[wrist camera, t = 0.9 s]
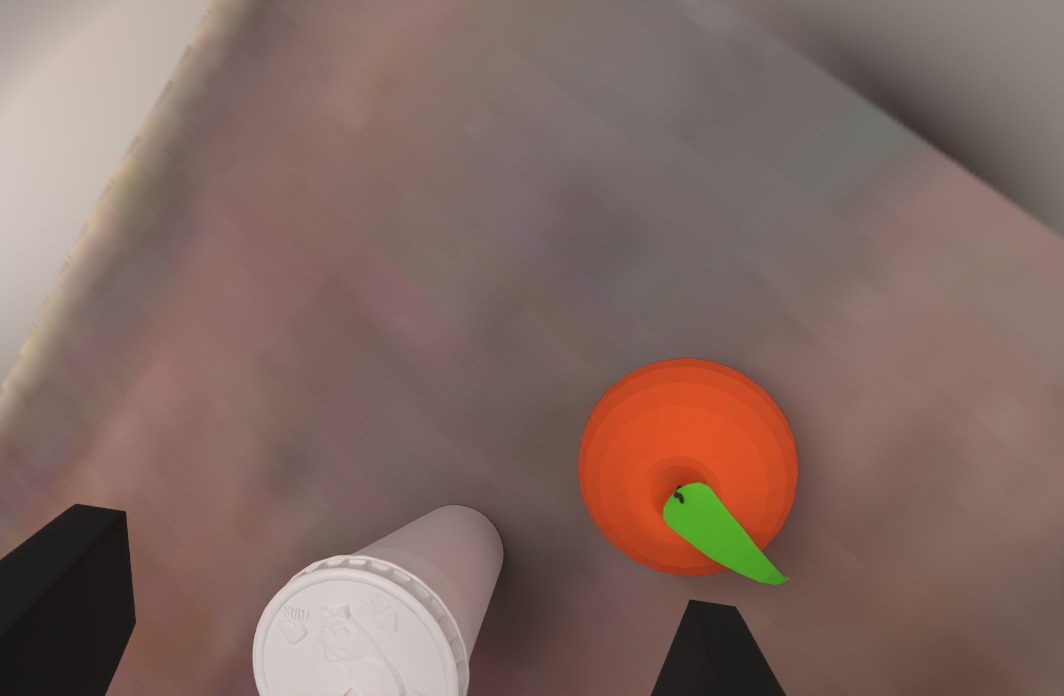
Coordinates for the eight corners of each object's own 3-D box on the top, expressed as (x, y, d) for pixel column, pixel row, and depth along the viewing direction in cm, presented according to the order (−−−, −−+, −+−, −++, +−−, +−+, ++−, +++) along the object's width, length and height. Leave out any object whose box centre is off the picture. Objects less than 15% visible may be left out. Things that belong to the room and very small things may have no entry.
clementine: (856, 464, 29) (895, 536, 22) (711, 590, 31) (707, 692, 24) (689, 304, 30) (678, 325, 23) (557, 436, 31) (509, 493, 24)
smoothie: (403, 636, 34) (187, 902, 20) (365, 484, 33) (118, 655, 20) (554, 617, 32) (428, 893, 19) (517, 458, 32) (360, 624, 18)
